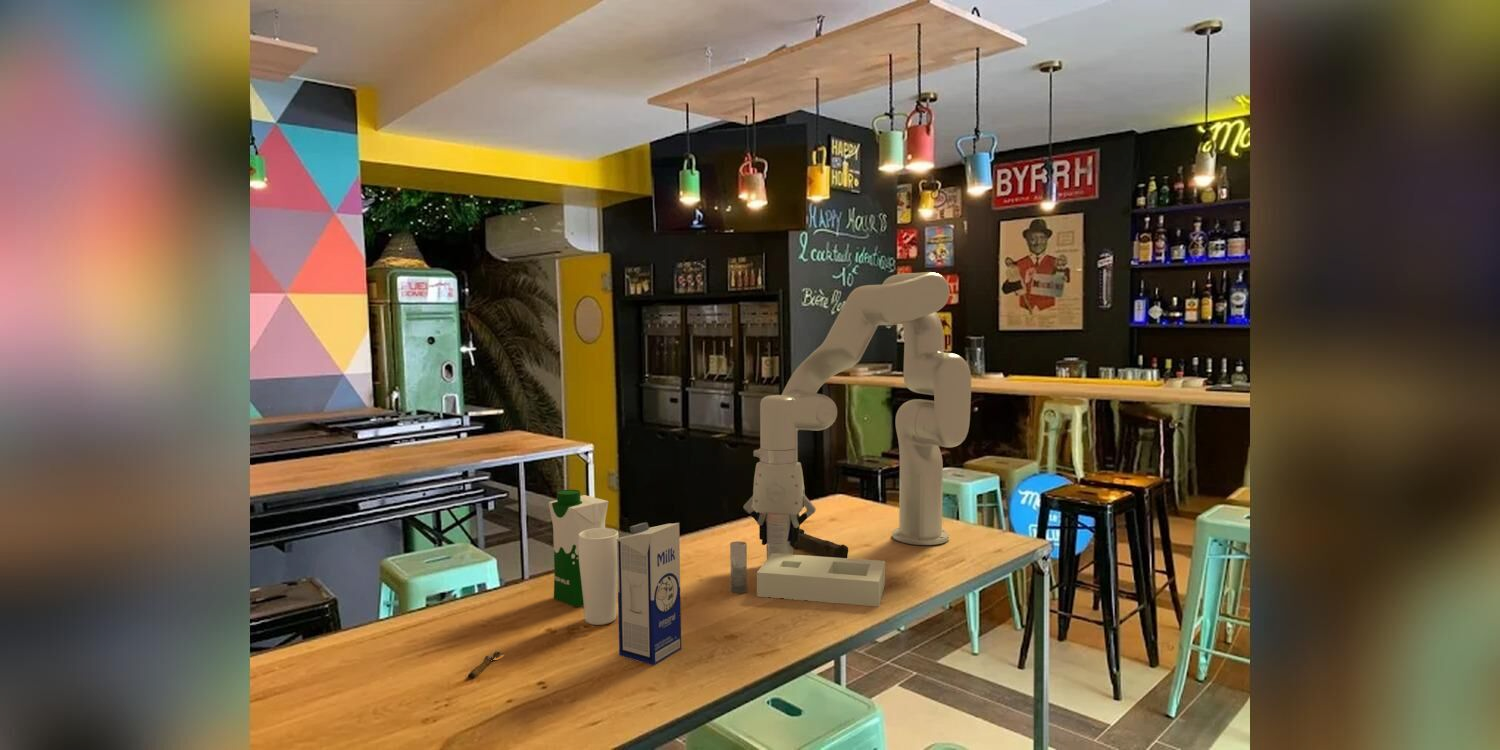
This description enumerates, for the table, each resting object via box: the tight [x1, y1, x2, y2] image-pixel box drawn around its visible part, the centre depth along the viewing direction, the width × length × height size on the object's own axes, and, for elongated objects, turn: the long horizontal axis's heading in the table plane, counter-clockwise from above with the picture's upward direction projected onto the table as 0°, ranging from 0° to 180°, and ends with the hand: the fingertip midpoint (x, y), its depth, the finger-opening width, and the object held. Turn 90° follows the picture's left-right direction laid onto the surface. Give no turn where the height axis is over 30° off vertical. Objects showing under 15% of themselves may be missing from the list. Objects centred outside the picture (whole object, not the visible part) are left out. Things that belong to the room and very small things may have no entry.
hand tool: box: [793, 528, 849, 558], centre depth 173 cm, size 19×4×5 cm, turn 36°
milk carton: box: [616, 521, 682, 666], centre depth 122 cm, size 7×7×20 cm
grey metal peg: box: [729, 541, 748, 595], centre depth 149 cm, size 3×3×9 cm
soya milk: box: [548, 489, 609, 609], centre depth 146 cm, size 9×9×20 cm
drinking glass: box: [578, 527, 620, 626], centre depth 135 cm, size 7×7×15 cm
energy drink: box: [766, 513, 794, 560], centre depth 164 cm, size 5×5×12 cm
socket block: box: [756, 553, 886, 608], centre depth 149 cm, size 12×22×4 cm, turn 75°
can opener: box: [467, 650, 501, 679], centre depth 119 cm, size 9×2×1 cm, turn 165°
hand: (779, 543), depth 165 cm, fingers closed on energy drink, 5 cm apart
